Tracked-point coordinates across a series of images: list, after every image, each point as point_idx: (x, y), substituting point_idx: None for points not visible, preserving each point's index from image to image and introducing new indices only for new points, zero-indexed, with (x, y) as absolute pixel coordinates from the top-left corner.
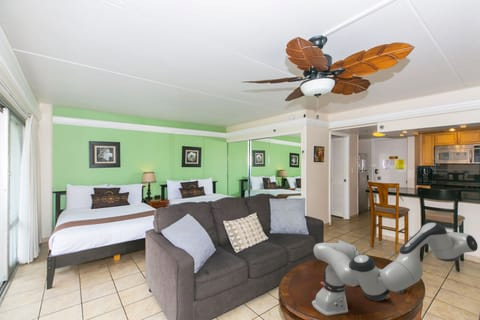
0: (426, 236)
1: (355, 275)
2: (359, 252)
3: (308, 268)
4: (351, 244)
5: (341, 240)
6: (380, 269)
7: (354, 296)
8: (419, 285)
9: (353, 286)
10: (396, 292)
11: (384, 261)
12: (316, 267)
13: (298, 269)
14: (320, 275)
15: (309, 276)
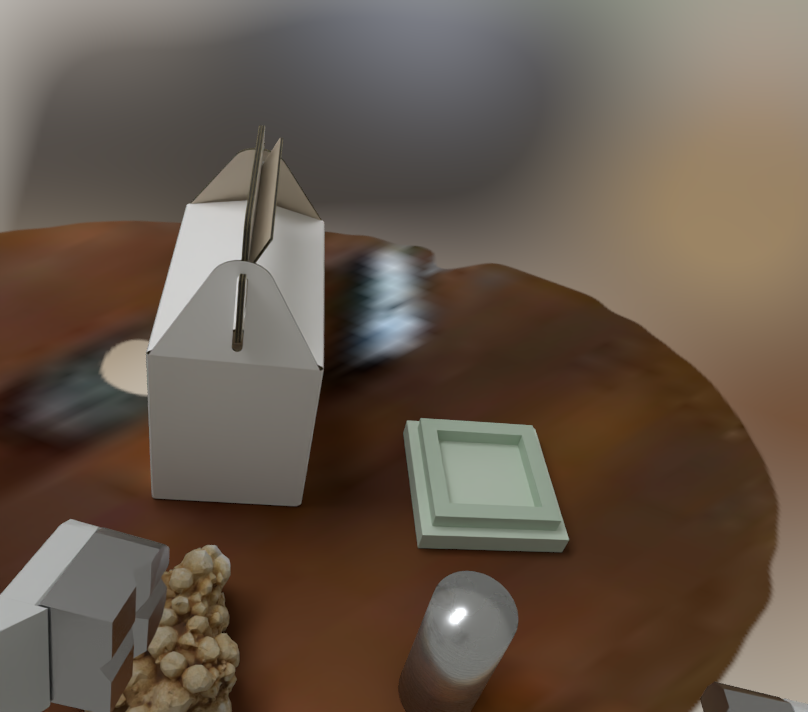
0: None
1: None
2: (275, 291)
3: (105, 255)
4: (250, 194)
5: (260, 135)
6: (537, 456)
7: (8, 584)
8: (692, 704)
9: (153, 497)
10: (399, 694)
11: (694, 401)
12: (168, 268)
13: (31, 237)
14: (88, 326)
15: (3, 304)
